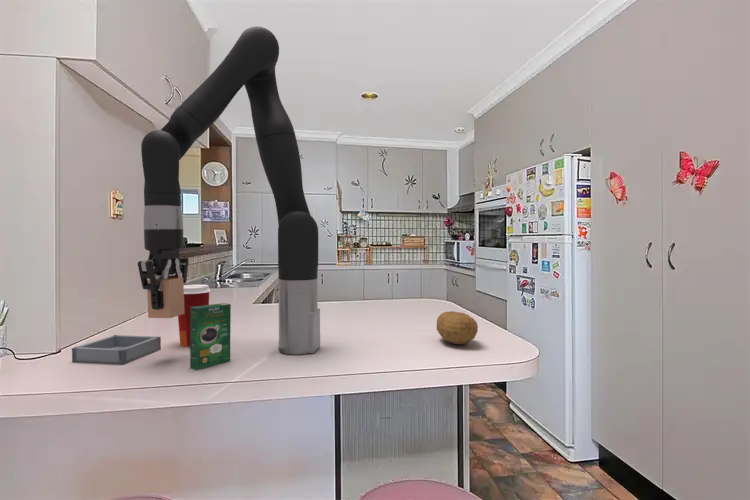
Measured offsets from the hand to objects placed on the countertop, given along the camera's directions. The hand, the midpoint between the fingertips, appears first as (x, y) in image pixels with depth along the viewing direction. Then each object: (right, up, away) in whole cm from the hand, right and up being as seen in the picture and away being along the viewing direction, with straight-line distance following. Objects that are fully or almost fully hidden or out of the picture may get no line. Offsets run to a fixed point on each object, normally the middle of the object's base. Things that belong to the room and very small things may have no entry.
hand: (166, 306), depth 88 cm
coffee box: (+10, -13, -2) cm, 17 cm away
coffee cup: (-1, -12, +15) cm, 19 cm away
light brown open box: (0, -2, 0) cm, 2 cm away
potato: (+66, -12, +17) cm, 69 cm away
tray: (-13, -12, +4) cm, 18 cm away
